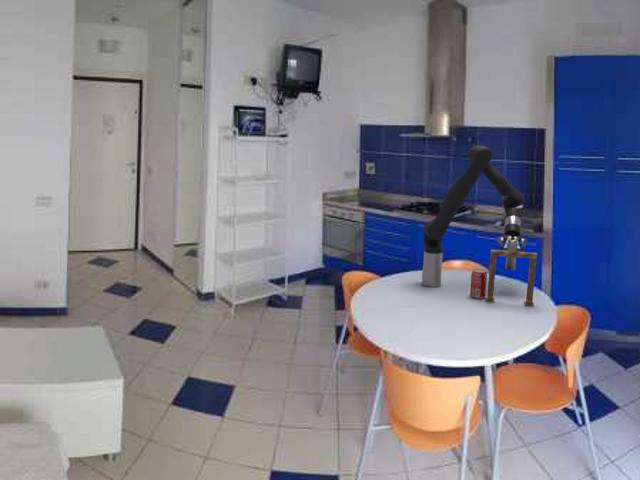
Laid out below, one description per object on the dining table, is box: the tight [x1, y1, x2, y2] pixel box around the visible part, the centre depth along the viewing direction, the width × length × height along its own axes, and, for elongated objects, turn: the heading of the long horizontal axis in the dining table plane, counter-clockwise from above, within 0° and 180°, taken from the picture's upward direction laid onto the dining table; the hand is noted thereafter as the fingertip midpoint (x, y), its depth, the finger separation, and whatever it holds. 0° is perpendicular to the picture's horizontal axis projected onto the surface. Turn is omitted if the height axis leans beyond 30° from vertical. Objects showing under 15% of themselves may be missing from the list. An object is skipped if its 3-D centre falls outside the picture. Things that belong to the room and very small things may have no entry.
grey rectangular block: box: [505, 240, 518, 271], centre depth 252 cm, size 4×5×14 cm
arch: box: [484, 249, 538, 307], centre depth 241 cm, size 21×5×24 cm, turn 73°
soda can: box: [469, 268, 488, 300], centre depth 250 cm, size 7×7×13 cm
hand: (511, 256), depth 251 cm, fingers closed on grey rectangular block, 4 cm apart
